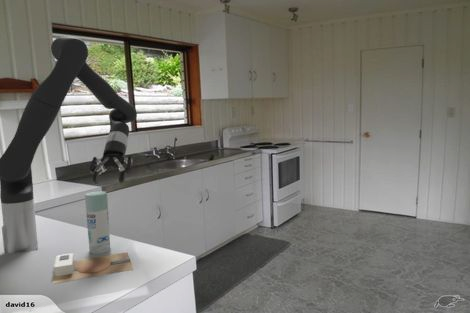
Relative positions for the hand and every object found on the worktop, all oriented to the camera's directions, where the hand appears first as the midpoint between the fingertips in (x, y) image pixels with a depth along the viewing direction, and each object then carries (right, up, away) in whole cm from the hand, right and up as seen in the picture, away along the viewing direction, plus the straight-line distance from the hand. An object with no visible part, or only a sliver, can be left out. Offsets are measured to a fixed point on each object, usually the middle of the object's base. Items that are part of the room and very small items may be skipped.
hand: (108, 182), depth 122 cm
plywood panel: (+4, -24, -21) cm, 32 cm away
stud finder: (-4, -23, -22) cm, 32 cm away
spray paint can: (0, -23, -8) cm, 24 cm away
